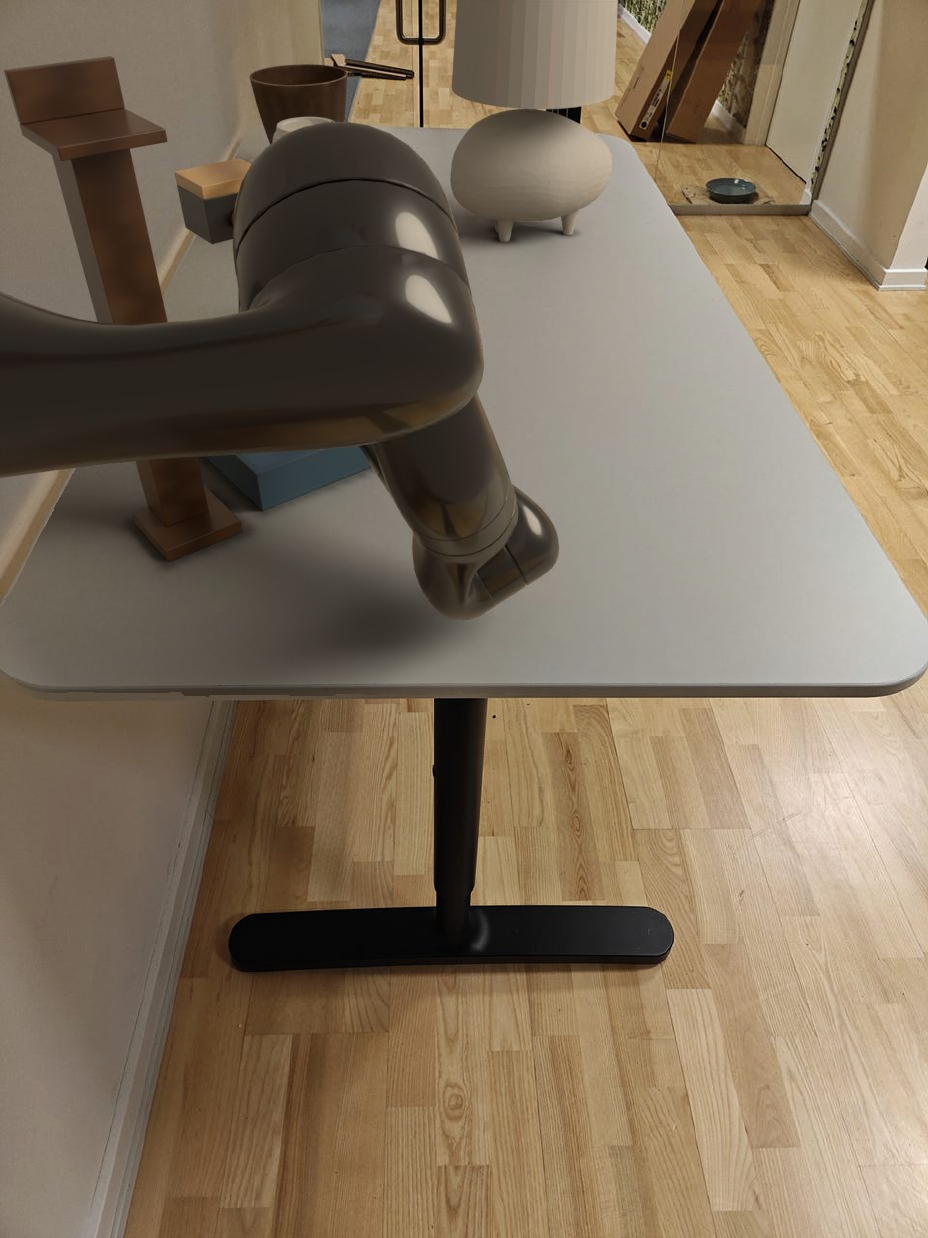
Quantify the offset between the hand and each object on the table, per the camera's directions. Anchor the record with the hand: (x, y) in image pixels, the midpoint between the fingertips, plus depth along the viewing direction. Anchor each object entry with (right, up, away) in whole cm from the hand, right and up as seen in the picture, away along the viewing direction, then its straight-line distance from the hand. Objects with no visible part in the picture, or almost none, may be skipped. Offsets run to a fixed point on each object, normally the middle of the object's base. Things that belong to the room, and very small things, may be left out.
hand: (257, 209), depth 72 cm
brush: (-1, -2, +3) cm, 3 cm away
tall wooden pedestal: (-8, -25, +8) cm, 27 cm away
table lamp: (+26, +24, +62) cm, 71 cm away
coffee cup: (-5, +23, +60) cm, 65 cm away
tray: (-3, -15, +18) cm, 24 cm away
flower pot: (-9, +39, +79) cm, 89 cm away
